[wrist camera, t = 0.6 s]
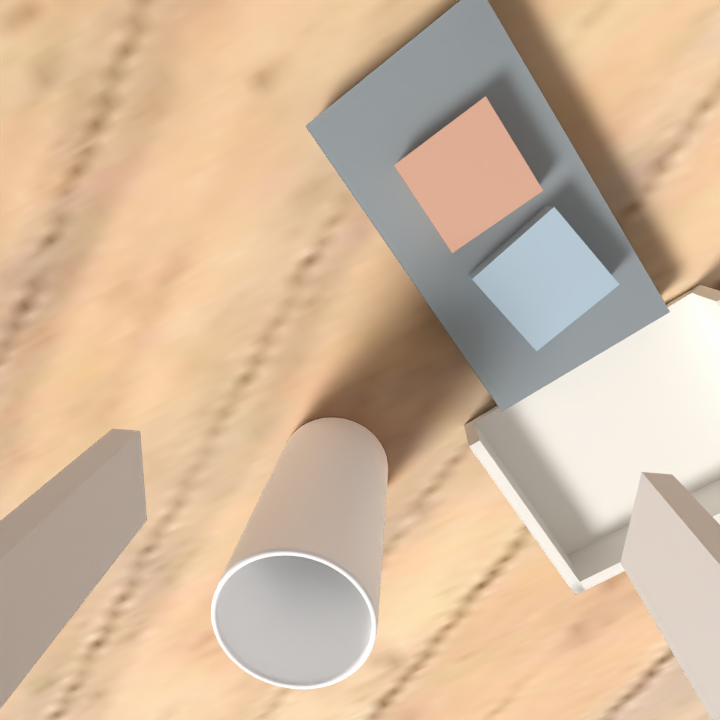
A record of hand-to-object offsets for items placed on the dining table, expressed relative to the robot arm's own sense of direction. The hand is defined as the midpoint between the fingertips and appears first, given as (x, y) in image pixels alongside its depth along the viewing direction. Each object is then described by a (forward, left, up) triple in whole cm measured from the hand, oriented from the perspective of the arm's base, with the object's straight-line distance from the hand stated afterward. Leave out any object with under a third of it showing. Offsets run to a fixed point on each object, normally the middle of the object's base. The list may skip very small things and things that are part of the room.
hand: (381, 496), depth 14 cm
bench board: (-2, +8, -25) cm, 26 cm away
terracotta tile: (-5, +8, -22) cm, 24 cm away
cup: (+7, -11, -25) cm, 28 cm away
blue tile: (+3, +9, -22) cm, 24 cm away
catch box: (+17, +8, -25) cm, 31 cm away
